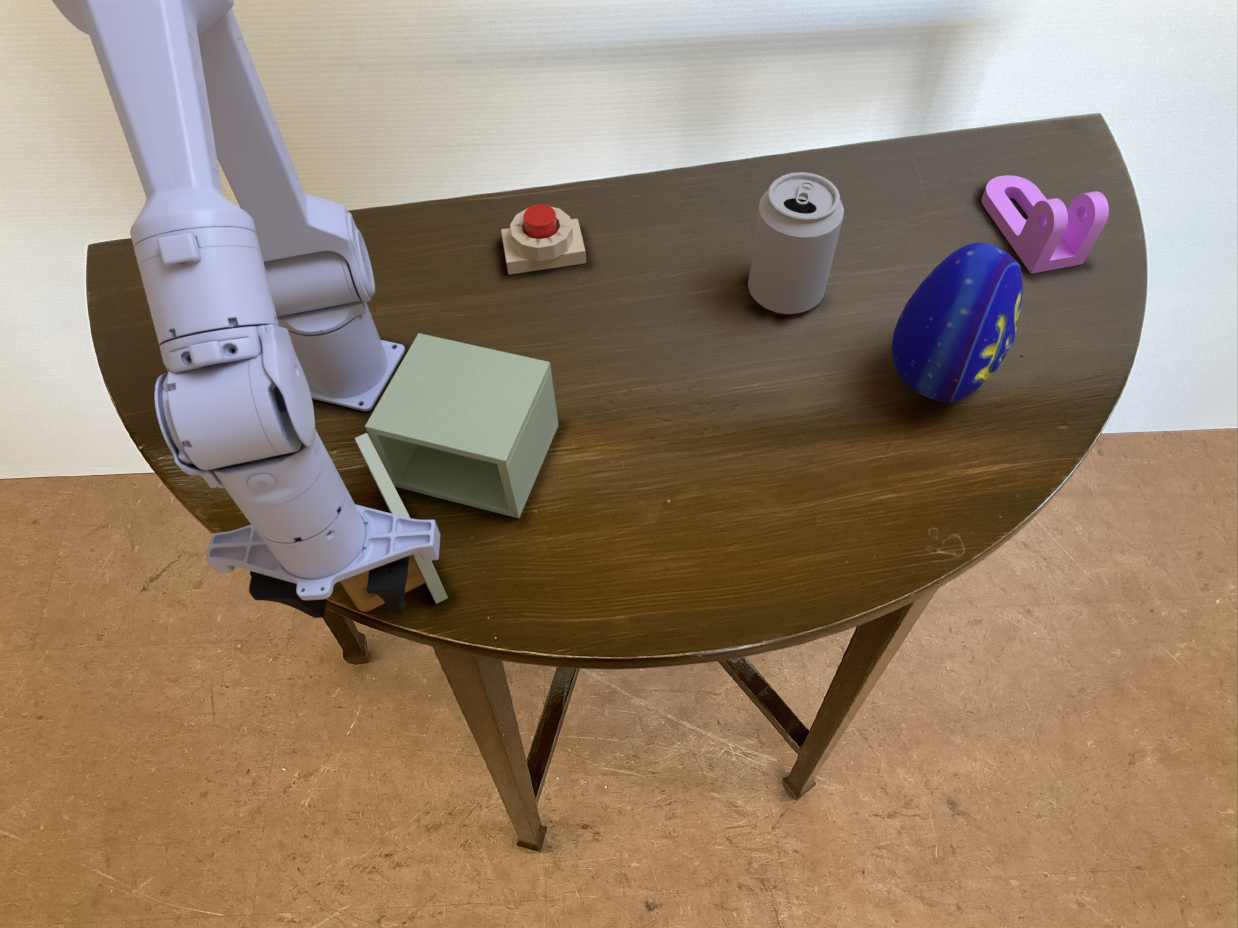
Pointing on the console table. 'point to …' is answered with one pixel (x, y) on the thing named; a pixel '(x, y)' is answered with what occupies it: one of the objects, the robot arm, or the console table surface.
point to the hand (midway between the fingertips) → (360, 602)
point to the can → (795, 242)
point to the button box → (543, 245)
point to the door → (417, 566)
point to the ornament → (959, 323)
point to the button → (540, 221)
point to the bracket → (1045, 223)
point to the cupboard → (466, 424)
